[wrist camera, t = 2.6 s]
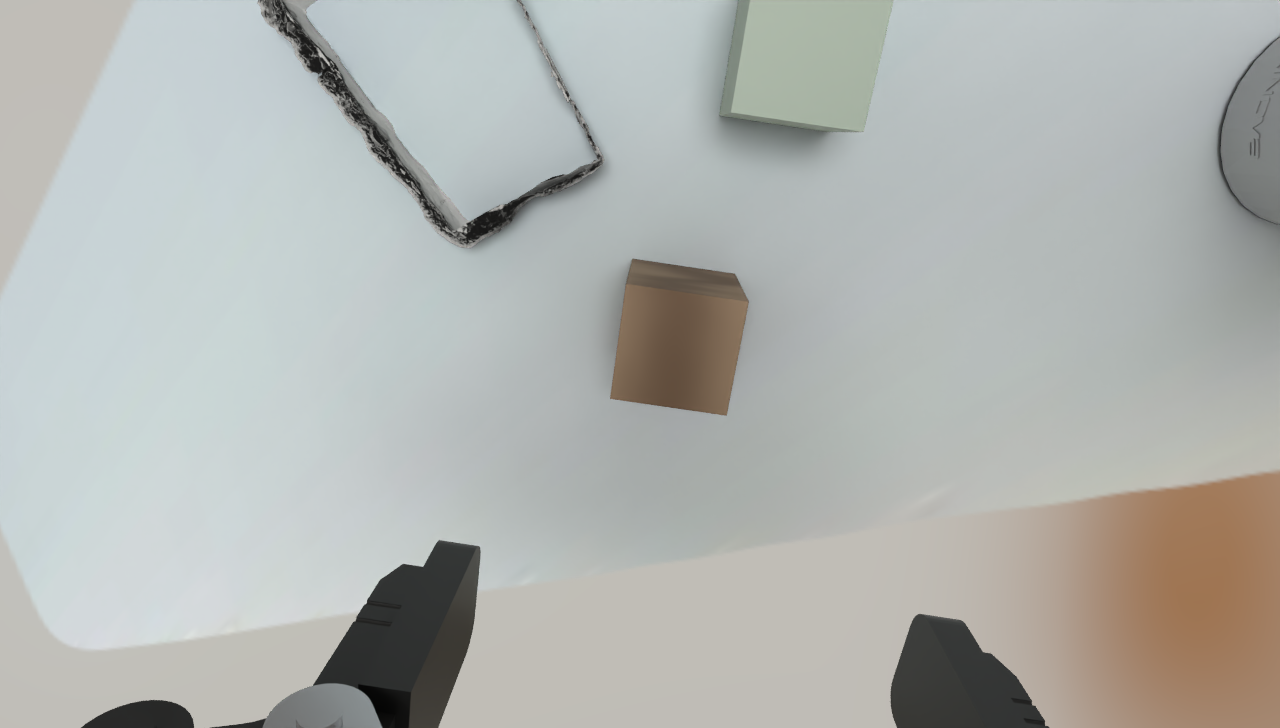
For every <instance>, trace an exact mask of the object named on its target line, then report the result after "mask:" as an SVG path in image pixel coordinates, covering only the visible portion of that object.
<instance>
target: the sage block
mask: <svg viewBox="0 0 1280 728" xmlns="http://www.w3.org/2000/svg"><path fill="white" fill-rule="evenodd" d="M893 1H894V0H738V6H737V12H736V18H735V24H734V30H733V36H732V42H731V48H730V54H729V60H728V66H727V72H726V78H725V84H724V90H723V96H722V102H721V108H720V114H719V116H724V117H731V118H738V119H744V120H751V121H758V122H765V123H771V124H778V125H785V126H791V127H798V128H805V129H812V130H818V131H825V132H864V128H865V123H866V119H867V114H868V110H869V106H870V101H871V97H872V93H873V88H874V84H875V79H876V75H877V71H878V66H879V62H880V58H881V53H882V49H883V44H884V40H885V36H886V31H887V27H888V23H889V18H890V14H891V9H892V5H893Z"/></svg>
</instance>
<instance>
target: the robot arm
mask: <svg viewBox="0 0 1280 728" xmlns="http://www.w3.org/2000/svg"><path fill="white" fill-rule="evenodd" d="M1220 152H1221V158H1222V165H1223V171H1224V174H1225V177H1226V179H1227V181H1228V184H1229V186H1230V188H1231V191H1232V192H1233V193H1234V194H1235V196H1236V197H1237V198H1238V200H1239V201H1240V202H1241V203H1242V205H1243V206H1244V207H1246V208H1247V209H1249V210H1250V211H1251V212H1253V213H1254V214H1255V215H1257V216H1258V217H1260V218H1263V219H1265V220H1268V221H1270V222H1273V223H1275V224H1279V225H1280V38H1278V39H1277V40H1276V41H1274V42H1273V43H1272V44H1271V45H1270V46H1269V47H1268V48H1267V49H1266V50H1265V51H1264V52H1263V53H1262V54H1261V55H1260V56H1259V57H1258V58H1257V59H1256V61H1255V62H1254V63H1253V65H1252V66H1251V67H1250V69H1249V70H1248V72H1247V73H1246V74H1245V76H1244V77H1243V79H1242V80H1241V81H1240V83H1239V85H1238V87H1237V89H1236V91H1235V93H1234V95H1233V97H1232V99H1231V102H1230V104H1229V106H1228V109H1227V113H1226V116H1225V120H1224V124H1223V127H1222V137H1221V151H1220ZM479 565H480V547H479V546H474V545H467V544H460V543H454V542H447V541H440V540H439V541H438V542H437V543H436V545H435V547H434V549H433V550H432V552H431V554H430V556H429V558H428V559H427V561H426V563H425V565H424V567H420V566H413V565H406V564H402V565H401V566H400V567H398V568H397V569H395V570H394V571H392V572H391V573H390V574H388V575H387V576H385V577H384V578H382V579H381V580H380V581H379V583H378V584H377V586H376V587H375V589H374V591H373V592H372V594H371V595H370V597H369V598H368V600H367V604H365V605H364V606H363V608H362V609H361V611H360V613H359V614H358V616H357V619H356V621H355V622H353V623H352V625H351V627H350V628H349V630H348V632H347V633H346V635H345V636H344V638H343V639H342V641H341V642H340V644H339V645H338V647H337V649H336V650H335V652H334V654H333V655H332V657H331V658H330V660H329V661H328V663H327V664H326V666H325V667H324V669H323V671H322V672H321V674H320V675H319V677H318V679H317V680H316V682H315V683H314V685H313V686H311V687H307V688H305V689H302V690H299V691H297V692H295V693H293V694H291V695H290V696H288V697H287V698H285V699H284V700H282V701H281V702H280V703H279V704H278V705H276V706H275V707H274V709H273V710H272V711H271V712H270V713H269V715H268V716H267V718H266V719H263V720H259V721H255V722H251V723H245V724H238V725H229V726H222V727H212V728H438V726H439V724H440V721H441V719H442V716H443V713H444V711H445V708H446V706H447V703H448V700H449V698H450V695H451V692H452V690H453V687H454V685H455V682H456V679H457V677H458V674H459V671H460V669H461V666H462V664H463V661H464V658H465V656H466V653H467V649H468V646H469V643H470V639H471V635H472V630H473V624H474V617H475V607H476V597H477V596H476V595H477V586H478V576H479ZM891 709H892V714H893V718H894V721H895V723H896V726H897V728H1049V727H1048V726H1045V720H1044V719H1043V717H1042V716H1041V714H1040V713H1039V711H1038V710H1037V708H1036V706H1033V705H1032V700H1031V699H1030V697H1029V696H1028V694H1027V693H1026V691H1025V689H1024V688H1023V686H1022V685H1021V683H1020V682H1019V680H1018V679H1017V677H1016V676H1015V675H1014V674H1013V673H1012V672H1011V671H1010V670H1008V669H1007V668H1006V667H1005V666H1004V665H1003V664H1002V663H1001V662H1000V661H999V660H997V659H996V658H995V657H994V656H993V655H992V654H990V653H984V652H982V650H981V648H980V647H979V645H978V643H977V642H976V640H975V639H974V637H973V635H972V634H971V632H970V630H969V629H968V627H967V626H966V624H965V623H964V622H963V621H961V620H956V619H950V618H943V617H936V616H930V615H923V614H918V615H917V616H915V618H914V619H913V621H912V624H911V626H910V629H909V632H908V635H907V638H906V641H905V644H904V647H903V650H902V653H901V656H900V659H899V663H898V666H897V669H896V672H895V675H894V678H893V682H892V686H891ZM81 728H194V724H193V719H192V717H191V715H190V713H189V712H188V711H187V710H186V709H185V708H183V707H182V706H180V705H178V704H176V703H172V702H168V701H162V700H161V701H160V700H149V701H141V702H135V703H130V704H127V705H123V706H120V707H117V708H115V709H112V710H110V711H107V712H105V713H103V714H102V715H100V716H98V717H96V718H94V719H93V720H91V721H90V722H88V723H87V724H85V725H84V726H83V727H81Z"/></svg>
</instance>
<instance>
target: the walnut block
mask: <svg viewBox="0 0 1280 728" xmlns="http://www.w3.org/2000/svg"><path fill="white" fill-rule="evenodd" d="M748 303H749V301H748V299H747V297H746V295H745V293H744V291H743V289H742V287H741V285H740V283H739V281H738V279H737V277H736V275H735V274H732V273H725V272H719V271H712V270H705V269H698V268H692V267H685V266H678V265H671V264H664V263H658V262H651V261H644V260H637V259H632V262H631V266H630V270H629V274H628V278H627V282H626V288H625V295H624V302H623V309H622V317H621V324H620V331H619V338H618V346H617V353H616V360H615V367H614V374H613V382H612V389H611V396H610V399H616V400H623V401H630V402H637V403H643V404H650V405H657V406H664V407H671V408H678V409H685V410H692V411H699V412H706V413H712V414H719V415H726V416H727V411H728V405H729V400H730V395H731V390H732V385H733V380H734V375H735V370H736V365H737V359H738V354H739V349H740V344H741V339H742V334H743V329H744V324H745V318H746V313H747V308H748Z"/></svg>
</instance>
